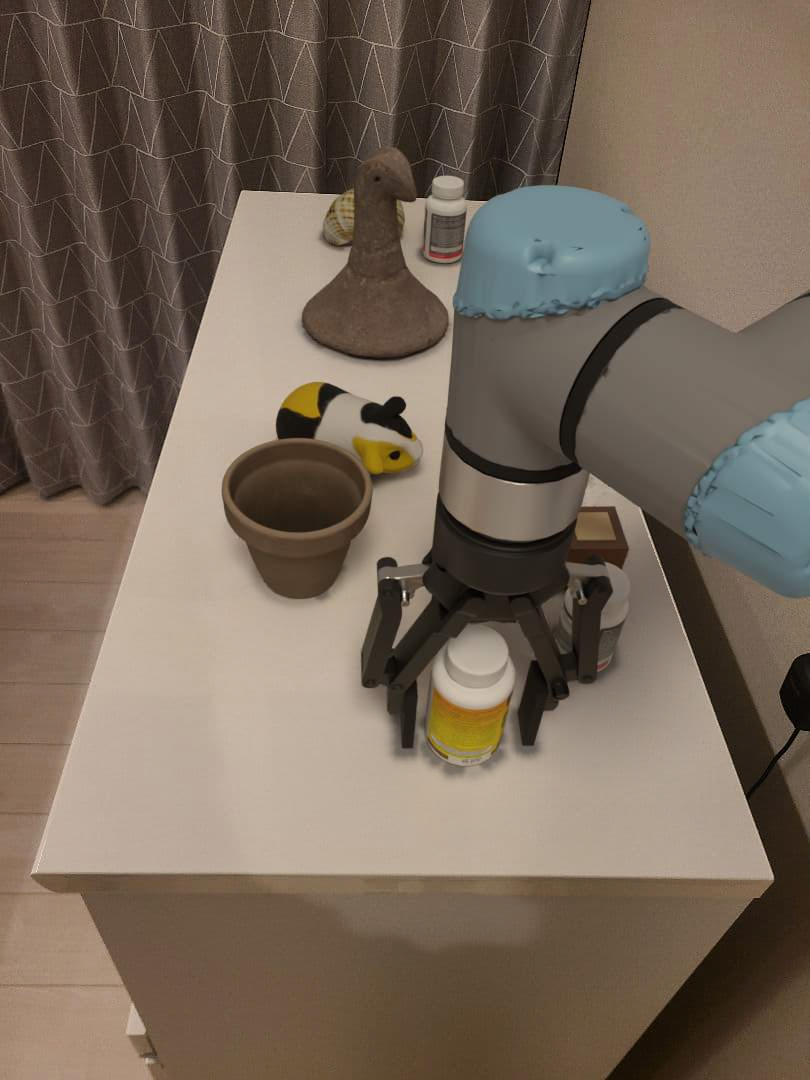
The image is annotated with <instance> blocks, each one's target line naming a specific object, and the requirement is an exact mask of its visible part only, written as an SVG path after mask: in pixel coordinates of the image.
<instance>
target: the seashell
mask: <svg viewBox="0 0 810 1080" xmlns="http://www.w3.org/2000/svg"><path fill="white" fill-rule="evenodd" d="M354 212H355V211H354V187H353V188H351V189H349V190H346V191H344V192H343V193H342V194H341V195H338V196H337V197H336V198H335V199H334V200H333V201H332V203H331V205H330V206H329V208H328V210H327V211H326V213H325V217H324V218H323V222H322V228H323V229H322V231H323V235H324V239H325V241H327V243H329V244H331V245H333V246H342V245H345V244H347V243H350V242H352V240H353V229H354ZM397 217H398V228H399V235H400V234H401V233H402V231H403V229H404V226H405V222H406V215H405V210H404V205H403V201H400V200H398V199H397Z"/></svg>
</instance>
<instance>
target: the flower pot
mask: <svg viewBox="0 0 810 1080" xmlns="http://www.w3.org/2000/svg"><path fill="white" fill-rule="evenodd" d="M373 491H374V489H373V482H372V478H371V474H369V472H368V470H367V469H366V467H365V466H364V464H363V463H362V462H361V461H360V460H359V459H358V458H357V457H356V456H355V455H353V454H352V453H351V452H349V451H347V450H346V449H344V448H342V447H340V446H337V445H335V444H332V443H329V442H325V441H321V440H316V439H307V438H288V439H280V440H278V439H275V440H271V441H267V442H263V443H260V444H258V445H256V446H254V447H252V448H249V449H247V450H246V451H244V452H243V453H241V454H240V455H239V456H238V457H236V458H235V459H234V460H233V461H232V462H231V464H230V465H229V466H228V467H227V469H226V471H225V473H224V475H223V478H222V482H221V499H222V502H223V511H224V516H225V519H226V521H227V523H228V525H229V527H230V528H231V529H232V531H233V532H234V533H235V534H236V536H237V537H239V538H240V539H241V540H242V541H243V542H244V543H245V546H246V547H247V550H248V552H249V555H250V557H251V558H252V561H253V563H254V565H255V567H256V569H257V571H258V573H259V575H260V576H261V578H262V580H263V582H264V583H265V584H266V585H267V587H268V588H269V589H270V590H271V591H273V592H274V593H276V594H278V595H280V596H283V597H286V598H291V599H308V598H313V597H316V596H318V595H320V594H322V593H324V592H326V591H327V590H329V589H330V588H331V587H332V586H333V585H334V583H335V582H336V580H337V578H338V577H339V574H340V573H341V570H342V567H343V565H344V563H345V561H346V558H347V555H348V552H349V550H350V548H351V544H352V541H353V540H354V539H356V538H357V536H359V534H360V533H361V532H362V531H363V529H365V526H366V524H367V523H368V521H369V520H368V519H369V517H370V514H371V508H372V500H373V499H372V498H373Z"/></svg>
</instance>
